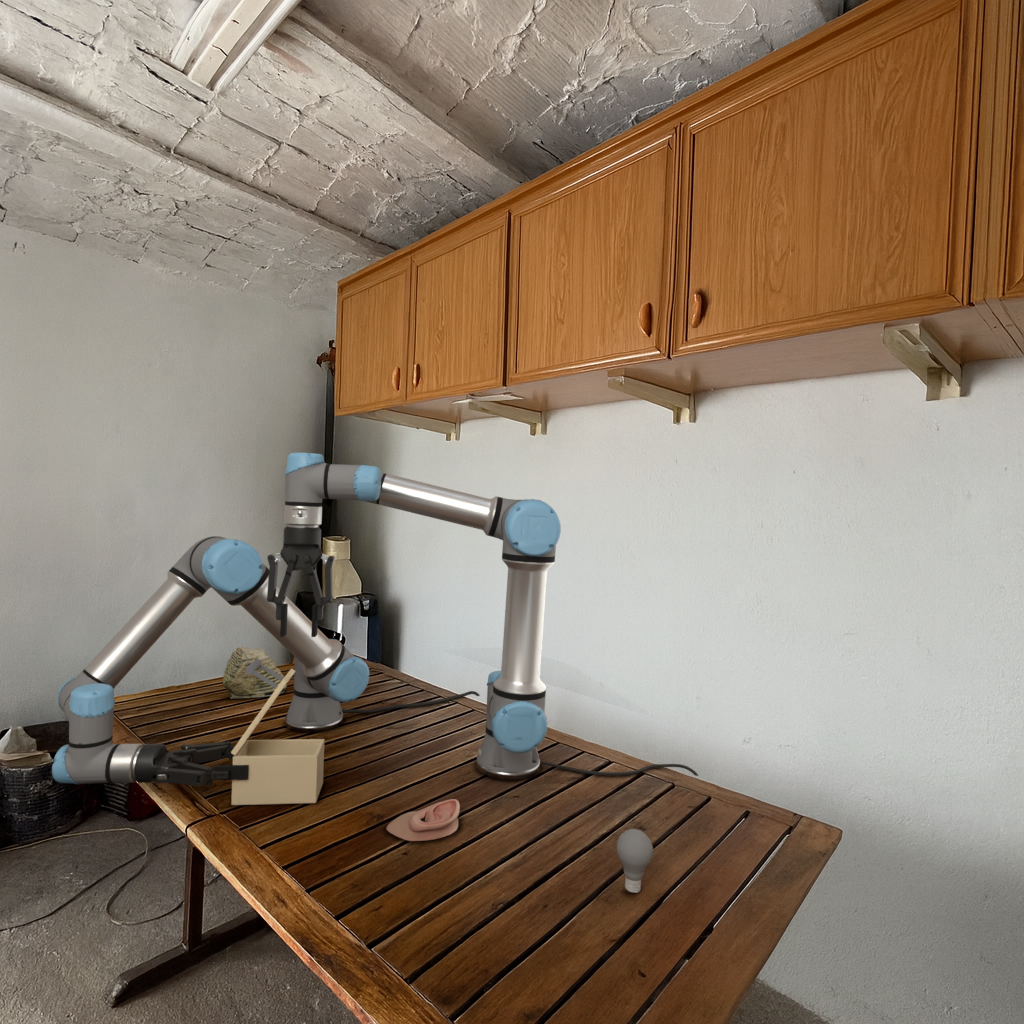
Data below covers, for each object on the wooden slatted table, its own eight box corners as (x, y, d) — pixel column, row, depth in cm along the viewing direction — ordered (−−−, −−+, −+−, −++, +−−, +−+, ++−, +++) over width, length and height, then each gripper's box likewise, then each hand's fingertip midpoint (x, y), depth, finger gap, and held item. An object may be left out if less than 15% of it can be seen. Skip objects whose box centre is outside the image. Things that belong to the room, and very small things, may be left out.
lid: (295, 670, 139) (262, 649, 138) (286, 683, 129) (250, 660, 128) (247, 738, 138) (214, 717, 137) (235, 755, 128) (198, 733, 127)
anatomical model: (380, 815, 119) (403, 788, 130) (379, 836, 119) (402, 808, 130) (448, 826, 116) (465, 797, 127) (447, 847, 116) (464, 817, 127)
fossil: (218, 695, 195) (220, 647, 195) (278, 685, 208) (279, 640, 207) (228, 703, 189) (230, 653, 188) (289, 692, 201) (290, 645, 201)
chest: (323, 782, 140) (324, 738, 140) (315, 803, 131) (317, 755, 131) (244, 784, 138) (245, 739, 138) (231, 805, 129) (232, 757, 128)
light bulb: (610, 879, 108) (613, 822, 108) (644, 879, 109) (647, 822, 109) (619, 902, 102) (622, 840, 102) (655, 901, 103) (658, 840, 103)
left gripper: (162, 759, 141) (267, 758, 144) (114, 807, 120) (238, 804, 123) (163, 726, 141) (268, 725, 144) (115, 767, 120) (240, 766, 123)
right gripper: (251, 525, 129) (247, 638, 129) (345, 528, 131) (341, 640, 132) (261, 523, 136) (257, 631, 137) (350, 527, 139) (346, 632, 139)
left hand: (254, 762), depth 133 cm, fingers closed on chest, 9 cm apart
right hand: (298, 635), depth 134 cm, fingers open, 6 cm apart
